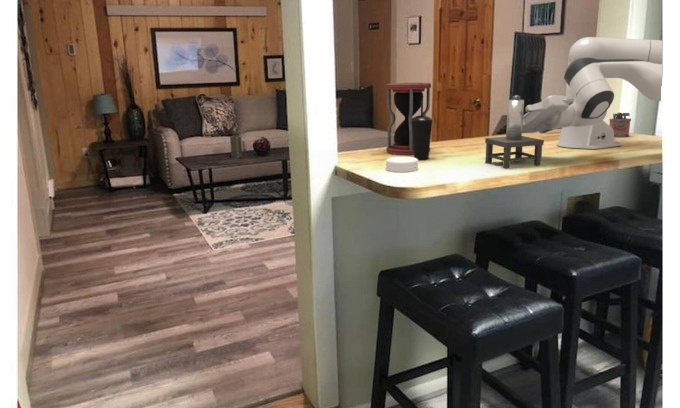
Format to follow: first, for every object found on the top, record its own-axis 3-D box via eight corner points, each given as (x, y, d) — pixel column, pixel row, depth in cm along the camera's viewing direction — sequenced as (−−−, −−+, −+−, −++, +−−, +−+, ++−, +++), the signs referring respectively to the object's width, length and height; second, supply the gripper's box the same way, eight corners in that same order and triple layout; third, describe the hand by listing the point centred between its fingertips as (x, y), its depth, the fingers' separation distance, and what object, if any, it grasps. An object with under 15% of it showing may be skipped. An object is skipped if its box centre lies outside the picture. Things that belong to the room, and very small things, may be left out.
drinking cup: (419, 156, 185) (419, 98, 180) (437, 158, 180) (438, 99, 175) (405, 159, 180) (405, 100, 175) (423, 161, 175) (424, 101, 170)
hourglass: (433, 154, 188) (434, 83, 181) (388, 155, 188) (388, 84, 181) (426, 147, 203) (427, 81, 197) (384, 148, 203) (384, 83, 197)
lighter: (609, 137, 215) (611, 113, 212) (606, 136, 218) (609, 112, 215) (630, 137, 213) (633, 112, 211) (627, 136, 217) (630, 112, 214)
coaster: (379, 170, 164) (379, 159, 163) (399, 165, 171) (399, 155, 170) (404, 174, 157) (404, 162, 156) (424, 169, 164) (424, 158, 163)
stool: (519, 159, 174) (520, 135, 171) (541, 165, 162) (543, 140, 160) (484, 162, 170) (485, 138, 168) (505, 169, 159) (506, 143, 157)
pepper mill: (515, 137, 167) (518, 94, 163) (524, 139, 163) (527, 95, 159) (503, 138, 166) (505, 94, 162) (511, 140, 161) (514, 95, 158)
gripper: (580, 108, 156) (539, 109, 153) (540, 135, 175) (504, 137, 172) (574, 89, 158) (534, 90, 154) (536, 118, 177) (500, 119, 173)
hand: (518, 115), depth 163 cm, fingers open, 8 cm apart
